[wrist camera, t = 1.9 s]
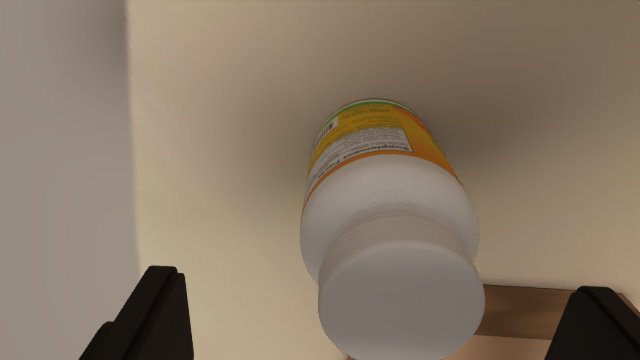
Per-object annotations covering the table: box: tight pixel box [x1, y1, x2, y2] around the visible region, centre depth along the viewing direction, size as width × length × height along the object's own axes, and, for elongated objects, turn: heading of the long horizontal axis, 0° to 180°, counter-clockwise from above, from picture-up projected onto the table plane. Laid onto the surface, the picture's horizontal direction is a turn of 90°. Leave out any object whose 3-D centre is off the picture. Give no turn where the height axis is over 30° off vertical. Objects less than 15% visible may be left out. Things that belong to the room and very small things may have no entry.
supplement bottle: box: [300, 99, 485, 360], centre depth 14 cm, size 5×5×10 cm
